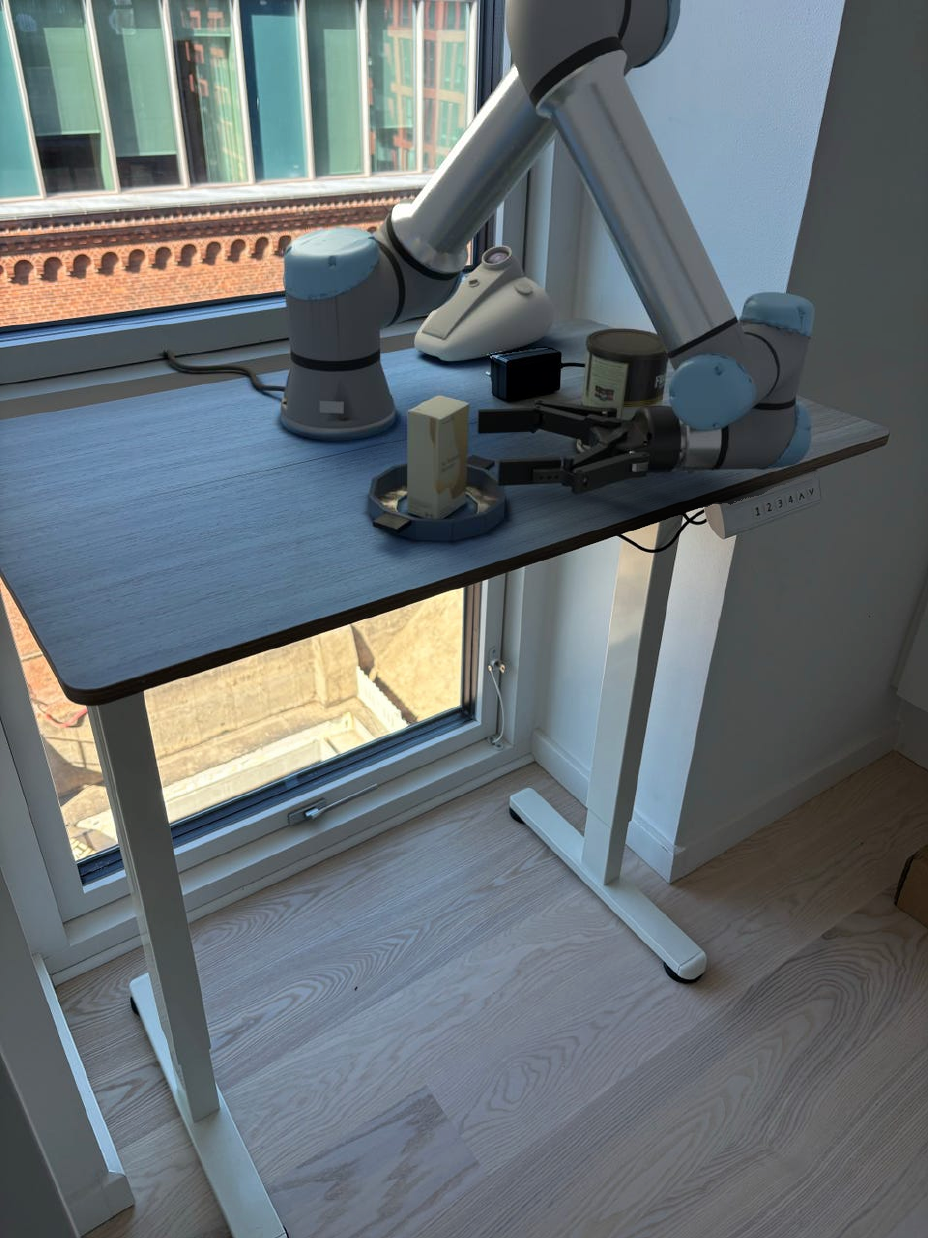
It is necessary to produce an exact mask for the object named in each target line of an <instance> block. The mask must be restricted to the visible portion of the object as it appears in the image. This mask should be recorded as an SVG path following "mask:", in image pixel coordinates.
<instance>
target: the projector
mask: <svg viewBox="0 0 928 1238" xmlns="http://www.w3.org/2000/svg"><path fill="white" fill-rule="evenodd" d="M464 277H465V279H464V280H462V281H461V284H460V286H459V288H458V290H457V292H456V293H455V295H454V296H453V297H452V298H451V299H450V300H449V301H448V302H447V303H445V304H444V305H442V306H441V307H440V308H438V309H437V310H435V311H432V312H431V313H429V315H428V316H427V318H425V320H424V321H423V323H422V325H421V326H420V327H419V328H418V330H417V332H416V334H415V335H414V349H415V350H416V351H417V352H419V353H423V354H427V355H430V356H434V357H437V358H439V359H440V360H441V361H446V362H459V361H467V360H473V359H479V358H483V357H484V358H485V357H488V356H487V354H491V353H494V355H496V354H495V352H499V351H504V350H507V351H506V352H510V351H512V350H516V349H519V348H522V347H525V346H527V345H531V344H533V343H536V342H537V341H538V340H541V339H542V338H543V337H545V336H546V335H547V334H548V332H549V331H550V329H551V328H552V325H553V323H554V317H555V314H554V307H553V303H552V301H551V298H550V296H549V294H548V293H547V292H546V290H545V289H543V287H541V286H540V285H539V284H538V283H537V282H535V281H534V280H533V279H530V278H529V277H527V276H526V275H525V273H524V270H523V267H522V265H521V263H520V261H519V259H518V257H517V255H516V254H515V253H514V252H513V250H512V249H511V248H510V247H509V246H507V245H497V246H493V247H491V248H489V249H487V250H486V251H485V252H484V253H483V254H482V256H481V262H480V264H479V265H477V267H476V268H475V269H473V271H471V272H469V273H466V274H465V275H464ZM498 354H501V352H499V353H498Z"/></svg>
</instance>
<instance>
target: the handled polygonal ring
mask: <svg viewBox="0 0 928 1238" xmlns="http://www.w3.org/2000/svg"><path fill="white" fill-rule="evenodd" d="M495 467H496V461H495V460H492V459H489V458H486V457H481V456H478V455H475V454H471V455H470V456H467V479H466V496H468V497H469V498H470V499H471V500H472V501H473V502H475V503H476V504H477V512H476V513H473V514H469V515H465V516H460V517H455V518H452V519H450V518H443V519H428V518H423V517H414V516H412V515H409V514H405V513H403V512H401V511H400V512H399V510H398V503H399V501H401V500H402V499H404V498H406V497H407V462H406V463H401V464H397V465H392V466H391V467H389V468H387V469H386V470H384V471H382V472H380V473H379V474H377V475H376V476H374V477H373V478H372V479H371V482H370V487H369V490H368V515H370V517H372V518H373V519H374V520H373V521H372V527H373V528H376V529H378V530H381V531H384V532H387V533H390V534H393V535H396V536H398V535H400V536H403V537H404V538H405V537H406V538H408V539H411V540H415V541H433V542H434V541H437V542H456V541H459V540H463V539H467V538H471V537H477V536H480V535H484V534H486V533H488V532H489V531H490V530H491V529H493V528H494V527H496V526H497V525H498V524H499V523H500V522H502V521H503V520H504V519H505V512H506V511H505V509H506V508H505V507H506V486H499V484H498V476H496V475H495V474H494V473H492V472H491V471H490V470H493V468H495Z"/></svg>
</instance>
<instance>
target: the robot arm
mask: <svg viewBox="0 0 928 1238" xmlns="http://www.w3.org/2000/svg"><path fill="white" fill-rule="evenodd" d="M681 3H682V2H681V0H506V1H505V9H504V11H505V13H504V14H505V18H504V19H505V32H506V37H507V43H508V47H509V50H510V54H511V57H512V61H513V64H512V65H511V67H510V68H509V69H508V71H507V72H506V73H505V75H504V76H503V78H502V79H501V80H500V81H499V83H498V84H497V86H496V87H495V89H494V90H493V91H492V92H491V94H490V95H489V97H488V98H487V100H486V101H485V102H484V104H483V105H482V106H481V108H480V109H479V111H478V112H477V113H476V115H475V117H473V119H472V120H471V121H470V123H469V124H468V126H467V127H466V129H465V130H464V131H463V133H462V134H461V135H460V137H459V138H458V140H457V141H456V142H455V144H454V145H453V147H452V148H451V149H450V150H449V152H448V153H447V155H446V156H445V158H444V159H443V160H442V162H441V163H440V165H439V166H438V167H437V169H436V170H435V171H434V172H433V174H432V175H431V177H430V178H429V179H428V180H427V182H426V184H425V185H424V187H423V188H422V189H421V191H420V192H419V194H418V195H417V196H416V198H404V199H401V200H400V201H398V202H397V203H396V204H395V205H394V207H393V208H392V209H391V211H390V212H389V213H388V215H387V216H386V218H385V219H384V220H383V222H382V224H380V226H379V228H378V229H376V230H375V231H374V232H372V233H371V232H370V231H368V230H366V229H362V228H357V227H348V226H337V227H331V228H330V229H324V228H322V229H316V230H313V231H309V232H306V233H304V234H302V235H300V236H299V237H298V236H297V238H295V239H294V240H292V242H290V243H289V244H288V245H287V247H286V250H285V251H284V255H283V267H284V268H283V270H284V271H283V278H282V284H283V287H284V295H285V307H286V319H287V331H288V342H289V353H290V366H289V370H288V375H287V379H286V382H285V386H284V385H267V384H262V383H260V382H259V380H258V378H257V377H258V376H257V375H256V373H255V372H254V371H253V370H252V369H250V368H248V367H246V366H242V365H236V364H215V365H214V364H213V365H189V364H184V363H181V362H180V361H178V360H177V359H176V357H175V355H174V353H173V351H172V350H171V349H170V350H167V353H166V352H165V349H164V350H163V352H162V354H161V356H163V357H167V358H169V361H170V362H171V363H172V365H174V366H175V367H176V368H177V369H180V370H181V371H182V370H184V371H189V372H215V371H216V372H217V371H236V372H241V373H245V374H248V375H249V376H250V378H251V382H252V384H253V385H254V387H256V388H257V389H258V390H261V391H266V392H282V393H283V396H282V399H281V402H280V417H281V418H280V419H281V424H282V425H283V426H284V427H285V428H286V429H287V430H288V431H290V432H291V433H293V434H296V435H298V436H301V437H303V438H309V439H313V440H319V441H353V440H359V439H364V438H368V437H372V436H375V435H378V434H380V433H383V432H384V431H386V430H387V429H389V428H390V427H391V426H392V425H394V423H395V420H396V403H395V400H394V398H393V396H392V393H391V392H390V388H389V384H388V380H387V377H386V375H385V372H384V368H383V365H382V362H381V330H383V329H386V328H389V327H391V326H393V325H396V324H400V323H402V322H404V321H408V320H410V319H413V318H415V317H419V316H424V315H428V314H431V312H432V311H435V310H437V309H438V308H440V307H441V306H442V305H444V304H445V303H447V302H448V301H449V300H450V299H451V298H452V297H453V296H454V295H455V293H456V292H457V290H458V288H459V286H460V284H461V282H463V277H464V272H463V270H464V269H465V267H466V265H467V263H468V261H469V250H468V249H469V248H468V246H469V244H470V242H472V240H473V239H474V238H475V237H476V236H477V234H478V233H479V231H480V230H481V229H482V228H483V227H484V226H485V224H486V223H487V222H488V221H489V219H490V218H491V217H492V216H493V215H494V213H495V212H496V211H497V209H499V208H500V206H501V205H502V203H503V202H504V201H505V200H506V199H507V198H508V196H509V195H510V194H511V193H512V192H513V190H514V189H516V187H517V185H518V184H519V183H520V182H521V181H522V180H523V178H524V177H525V176H526V174H527V173H528V172H529V171H530V170H531V168H532V167H533V166H534V165H535V164H536V162H537V161H538V160H539V159H540V158H541V157H542V155H543V154H544V153H545V151H546V150H548V148H549V146H550V145H551V144H552V143H553V142H554V141H555V139H556V138H557V137H558V136H559V137H560V139H561V141H562V143H563V145H564V147H565V149H566V151H567V153H568V155H569V157H570V160H571V162H572V164H573V165H574V168H575V169H576V172H577V174H578V176H579V177H580V180H581V182H582V184H583V186H584V187H585V190H586V192H587V194H588V196H589V198H590V200H591V203H592V204H593V206H594V209H595V211H597V214H598V216H599V219H600V220H601V222H602V224H603V227H604V229H605V231H606V232H607V235H608V237H609V239H610V241H611V243H612V245H613V247H614V249H615V251H616V254H617V255H618V258H619V259H620V261H621V263H622V265H623V267H624V269H625V272H626V273H627V276H628V277H629V279H630V281H631V284H632V286H633V288H634V290H635V292H636V293H637V296H638V298H639V300H640V302H641V305H642V306H643V308H644V310H645V313H646V314H647V316H648V318H649V320H650V323H651V324H652V326H653V328H654V330H655V333H656V334H658V336H659V339H660V341H661V343H662V345H663V347H664V349H665V351H666V353H667V355H668V357H669V362H670V365H671V367H672V369H673V370H674V373H673V374H672V376H671V377H670V381H669V384H668V385H669V386H668V397H669V405H665V404H664V405H662V406H643V407H640V408H639V409H638V410H637V411H636V413H635V415H634V417H633V418H632V419H631V420H621V419H618V418H617V409H616V408H613V407H592V406H585V405H581V404H577V403H571V402H564V401H556V400H550V399H542V398H536V399H535V400H534V405H532V407H513V408H511V407H510V408H486V409H485V408H483V409H481V408H480V409H477V431H476V432H477V434H478V435H488V434H514V433H515V434H516V433H517V434H518V433H531V434H533V435H534V434H535V433H537V432H538V431H539V430H541V431H544V432H548V433H552V434H556V435H560V436H564V437H568V438H572V439H575V440H578V439H579V440H581V442H582V444H583V445H586V446H589V447H590V449H588V450H586V451H584V452H582V453H581V452H580V453H578V454H576V455H574V456H573V457H571V456H569V455H566V454H564V455H563V460H562V458H561V457H560V456H552V457H551V456H550V457H529V458H528V457H526V458H525V457H524V458H501V459H500V458H499V459H498V473H497V478H498V484H499V486H505V487H507V486H508V487H509V486H529V485H530V486H531V485H532V486H533V485H551V484H560V485H561V486H563V487H567V488H571V490H570V492H571V493H572V494H574V495H582V494H585V493H589V492H592V491H594V490H597V489H601V488H604V487H607V486H610V485H613V484H617V483H620V482H623V481H627V480H628V479H637V478H638V479H639V478H645V477H648V474H667V473H668V474H669V473H671V472H672V471H675V472H687V474H694V473H695V472H703V471H727V470H729V471H730V470H731V471H732V470H760V471H764V470H769V469H776V468H786V467H791V466H795V465H797V464H799V463H800V462H801V461H802V460H803V459H804V458H805V457H806V455H807V453H808V452H809V449H810V446H811V443H812V438H813V437H812V436H813V435H812V433H811V429H812V427H813V424H812V423H813V422H812V417H811V414H810V412H809V410H808V407H806V405H804V404H803V403H802V402H799V401H797V396H798V392H799V387H800V383H801V379H802V375H803V372H804V371H803V370H804V366H805V363H806V357H807V354H808V350H809V345H810V342H811V340H812V339H813V327H814V321H815V320H814V319H815V314H816V312H815V311H816V309H815V307H814V305H813V303H812V302H810V300H809V299H806V298H804V297H802V296H799V295H797V294H794V293H793V294H792V293H787V292H780V291H779V292H777V291H763V292H757V293H754V294H751V295H749V296H748V297H747V298H746V299H745V301H744V303H743V307H742V311H741V315H740V316H739V317H737V315H736V312H735V311H734V309H733V307H732V304H731V302H730V300H729V298H728V295H727V293H726V291H725V290H724V287H723V284H722V283H721V280H720V278H719V276H718V274H717V272H716V270H715V268H714V265H713V263H712V261H711V259H710V256H709V254H708V253H707V251H706V249H705V246H704V243H703V242H702V239H701V237H700V235H699V234H698V232H697V230H696V227H695V225H694V223H693V221H692V218H691V217H690V213H689V212H688V210H687V207H686V206H685V203H684V201H683V200H682V198H681V195H680V193H679V191H678V189H677V187H676V184H675V182H674V180H673V178H672V176H671V174H670V172H669V169H668V167H667V165H666V163H665V161H664V159H663V156H662V155H661V153H660V151H659V148H658V146H657V144H656V142H655V140H654V138H653V136H652V133H651V131H650V129H649V127H648V124H647V123H646V120H645V118H644V116H643V114H642V111H641V109H640V107H639V106H638V104H637V101H636V99H635V97H634V95H633V92H632V90H631V88H630V86H629V84H628V82H627V79H626V78H625V77H626V76H627V75H628V73H630V71H631V70H633V69H638V68H639V69H640V68H642V67H644V66H647V65H649V64H650V63H651V62H652V61H654V60H656V59H657V58H658V57H659V56H660V55H661V54H662V53H663V52H664V51H665V50H666V48H667V47H668V46H669V44H670V43H671V41H672V40H673V37H674V35H675V33H676V31H677V28H678V24H679V21H680V16H681Z"/></svg>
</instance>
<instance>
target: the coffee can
mask: <svg viewBox="0 0 928 1238" xmlns="http://www.w3.org/2000/svg"><path fill="white" fill-rule="evenodd" d="M585 345H586V353H585V363H584V371H583V372H584V373H583V381H582V382H583V383H582V391H581V392H582V393H581V402H580V403H581V404H580V405H585V406H592V407H613V408H616V409H617V418H618V419H621V420H631V419H632V418H633V417H634V415H635V413H636V411H637V410H638V409H639V408H640V407H643V406H663V401H664V400H663V399H664V394H665V387H666V379H667V371H668V365H669V361H670V359H669V357H668V355H667V353H666V351H665V349H664V347H663V345H662V343H661V341H660V339H659V336H658V334H657V333H656V332H651V331H649V330H642V329H635V328H626V327H625V328H623V327H622V328H621V327H619V328H618V327H617V328H605V329H600V330H596V331H594V332H591V333H589V335H587V336H586V340H585ZM576 447H577V451H579V452H580V453H582V452H584V451H586V450H588V449H590V447H589V446H586V445H583V444H582V442H581V440H579V439H577V442H576Z"/></svg>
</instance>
